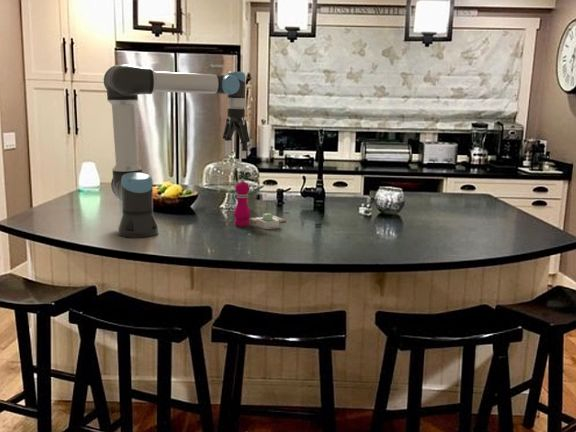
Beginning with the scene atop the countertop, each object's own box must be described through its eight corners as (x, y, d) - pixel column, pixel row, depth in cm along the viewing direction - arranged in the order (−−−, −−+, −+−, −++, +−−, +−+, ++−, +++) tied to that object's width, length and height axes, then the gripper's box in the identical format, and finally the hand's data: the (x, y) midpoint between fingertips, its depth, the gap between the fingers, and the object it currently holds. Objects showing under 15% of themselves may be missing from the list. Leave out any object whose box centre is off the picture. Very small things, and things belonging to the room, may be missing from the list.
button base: (264, 229, 240) (264, 222, 239) (256, 225, 246) (256, 218, 245) (278, 227, 244) (278, 220, 243) (270, 224, 250) (270, 217, 249)
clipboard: (260, 224, 248) (260, 222, 248) (249, 220, 256) (249, 217, 256) (285, 221, 255) (285, 219, 255) (274, 217, 263) (274, 215, 263)
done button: (265, 223, 242) (266, 215, 241) (261, 222, 245) (261, 213, 244) (274, 223, 244) (274, 214, 243) (269, 221, 247) (269, 212, 246)
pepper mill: (251, 223, 250) (252, 177, 246) (248, 227, 243) (249, 180, 239) (235, 222, 251) (235, 177, 247) (232, 226, 244) (232, 179, 240)
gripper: (258, 109, 243) (257, 159, 248) (230, 107, 264) (229, 153, 268) (242, 109, 239) (241, 160, 244) (215, 106, 259) (215, 153, 264)
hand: (235, 156), depth 256 cm, fingers open, 13 cm apart
